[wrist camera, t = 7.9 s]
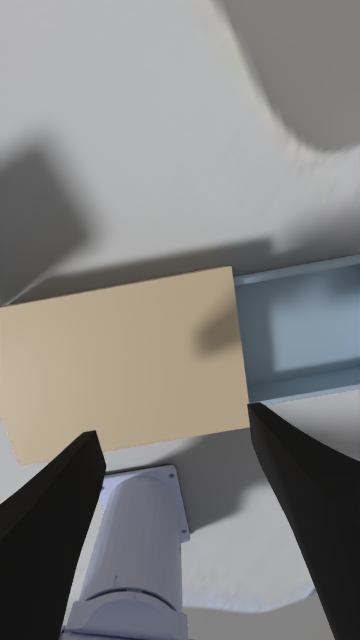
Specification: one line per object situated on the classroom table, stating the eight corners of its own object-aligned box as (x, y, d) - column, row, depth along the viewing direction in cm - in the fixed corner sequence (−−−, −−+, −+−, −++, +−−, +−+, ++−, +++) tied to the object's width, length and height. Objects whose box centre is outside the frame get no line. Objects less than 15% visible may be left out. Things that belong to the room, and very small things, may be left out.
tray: (365, 367, 21) (398, 383, 18) (179, 399, 22) (180, 421, 18) (364, 253, 19) (401, 250, 16) (157, 290, 19) (154, 294, 16)
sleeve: (237, 396, 22) (252, 426, 18) (49, 428, 22) (19, 466, 18) (219, 266, 20) (231, 266, 15) (7, 304, 20) (-39, 314, 16)
